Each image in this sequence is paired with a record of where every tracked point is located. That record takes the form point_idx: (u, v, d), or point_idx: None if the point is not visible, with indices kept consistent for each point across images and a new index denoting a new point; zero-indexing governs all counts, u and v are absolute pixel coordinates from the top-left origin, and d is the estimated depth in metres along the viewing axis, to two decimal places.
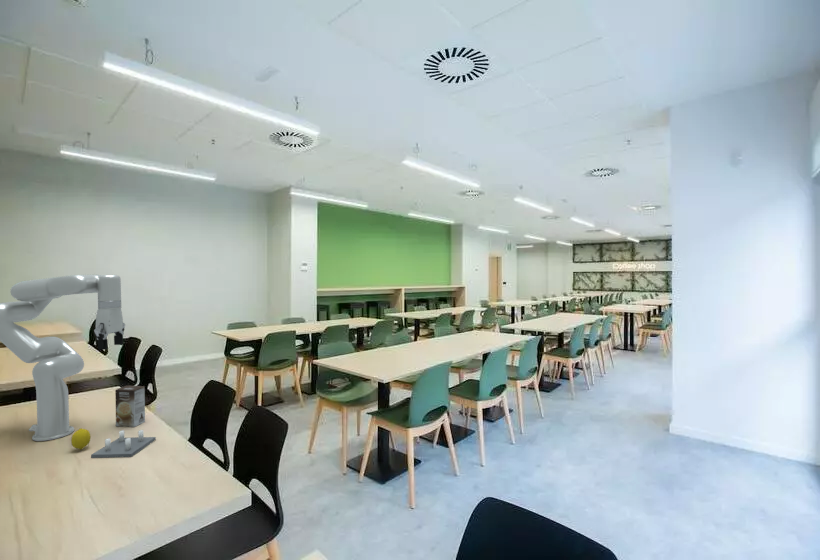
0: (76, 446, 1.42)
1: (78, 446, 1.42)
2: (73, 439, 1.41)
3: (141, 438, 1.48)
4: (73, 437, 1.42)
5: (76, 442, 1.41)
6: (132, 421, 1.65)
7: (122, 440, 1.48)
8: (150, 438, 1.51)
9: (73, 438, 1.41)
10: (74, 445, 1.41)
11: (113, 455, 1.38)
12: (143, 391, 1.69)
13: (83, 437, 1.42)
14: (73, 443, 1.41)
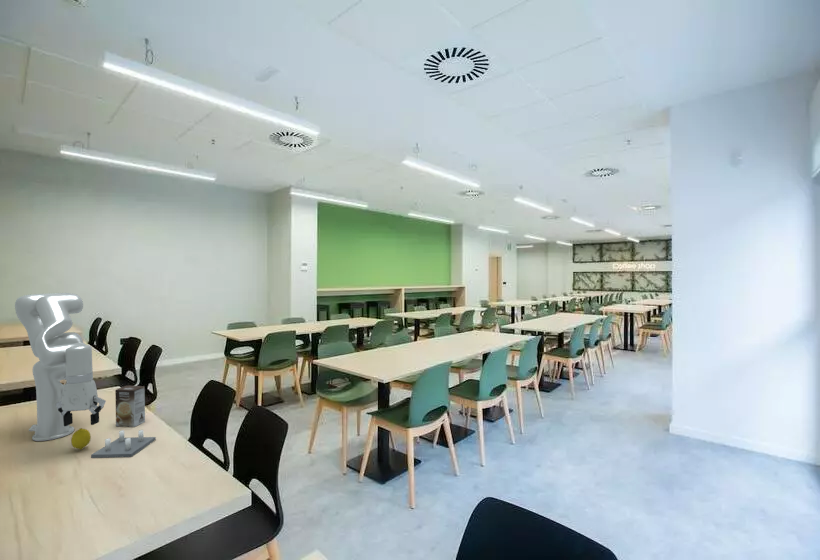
0: (76, 446, 1.42)
1: (78, 446, 1.42)
2: (73, 439, 1.41)
3: (141, 438, 1.48)
4: (73, 437, 1.42)
5: (76, 442, 1.41)
6: (132, 421, 1.65)
7: (122, 440, 1.48)
8: (150, 438, 1.51)
9: (73, 438, 1.41)
10: (74, 445, 1.41)
11: (113, 455, 1.38)
12: (143, 391, 1.69)
13: (83, 437, 1.42)
14: (73, 443, 1.41)
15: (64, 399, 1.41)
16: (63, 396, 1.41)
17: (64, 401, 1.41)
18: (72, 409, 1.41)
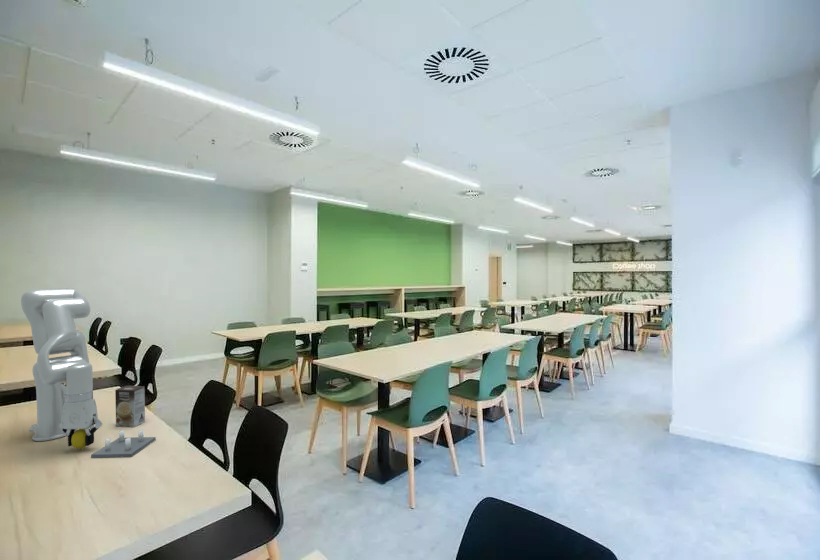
0: (76, 446, 1.42)
1: (78, 446, 1.42)
2: (73, 439, 1.41)
3: (141, 438, 1.48)
4: (73, 437, 1.42)
5: (76, 442, 1.41)
6: (132, 421, 1.65)
7: (122, 440, 1.48)
8: (150, 438, 1.51)
9: (73, 438, 1.41)
10: (74, 445, 1.41)
11: (113, 455, 1.38)
12: (143, 391, 1.69)
13: (83, 437, 1.42)
14: (73, 443, 1.41)
15: (64, 417, 1.41)
16: (63, 414, 1.41)
17: (64, 420, 1.41)
18: (72, 427, 1.41)
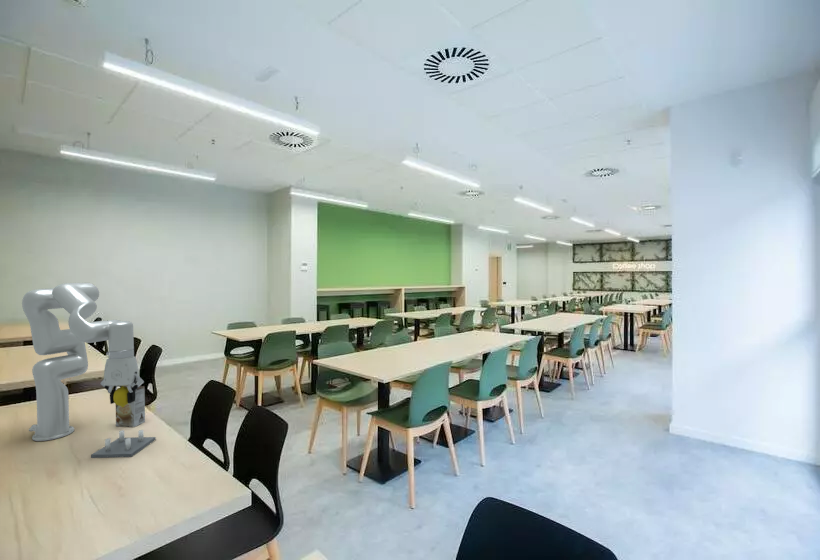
0: (118, 403, 1.42)
1: (120, 403, 1.42)
2: (115, 396, 1.42)
3: (141, 438, 1.48)
4: (115, 394, 1.42)
5: (118, 399, 1.41)
6: (132, 421, 1.65)
7: (122, 440, 1.48)
8: (150, 438, 1.51)
9: (115, 395, 1.42)
10: (116, 402, 1.42)
11: (113, 455, 1.38)
12: (143, 391, 1.69)
13: (124, 394, 1.43)
14: (115, 400, 1.41)
15: (106, 374, 1.41)
16: (105, 371, 1.41)
17: (106, 376, 1.41)
18: (114, 384, 1.41)
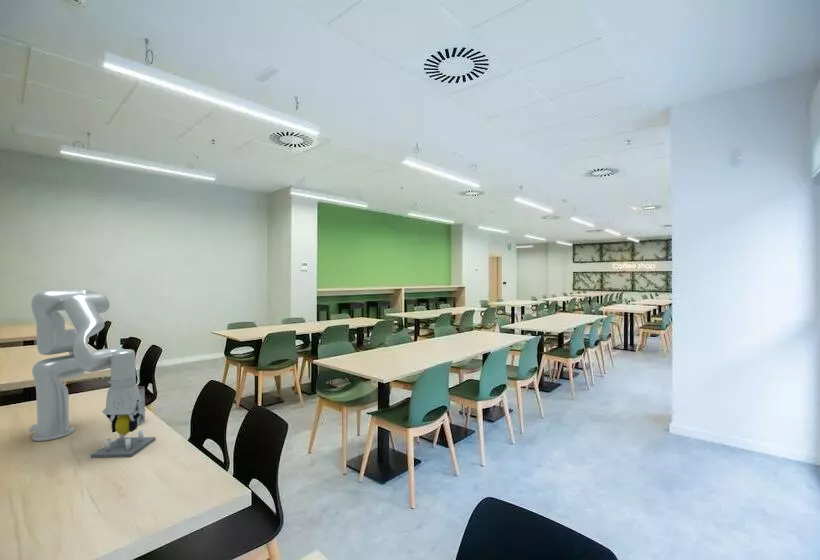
0: (120, 432, 1.42)
1: (122, 432, 1.42)
2: (117, 425, 1.42)
3: (141, 438, 1.48)
4: (117, 423, 1.42)
5: (120, 428, 1.42)
6: None
7: (122, 440, 1.48)
8: (150, 438, 1.51)
9: (117, 424, 1.42)
10: (118, 431, 1.42)
11: (113, 455, 1.38)
12: (143, 391, 1.69)
13: (126, 423, 1.43)
14: (117, 429, 1.42)
15: (108, 403, 1.41)
16: (107, 400, 1.41)
17: (108, 405, 1.41)
18: (116, 413, 1.42)
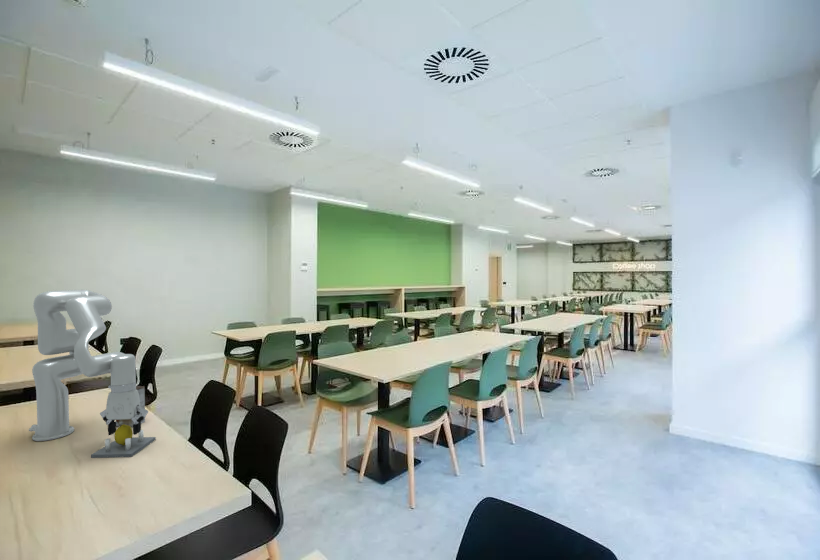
0: (119, 442, 1.42)
1: (121, 442, 1.42)
2: (116, 435, 1.42)
3: (141, 438, 1.48)
4: (116, 433, 1.42)
5: (119, 438, 1.42)
6: (132, 421, 1.65)
7: None
8: (150, 438, 1.51)
9: (116, 434, 1.42)
10: (117, 441, 1.42)
11: (113, 455, 1.38)
12: (143, 391, 1.69)
13: (126, 433, 1.43)
14: (116, 439, 1.42)
15: (108, 408, 1.41)
16: (108, 405, 1.42)
17: (108, 410, 1.41)
18: (116, 418, 1.42)
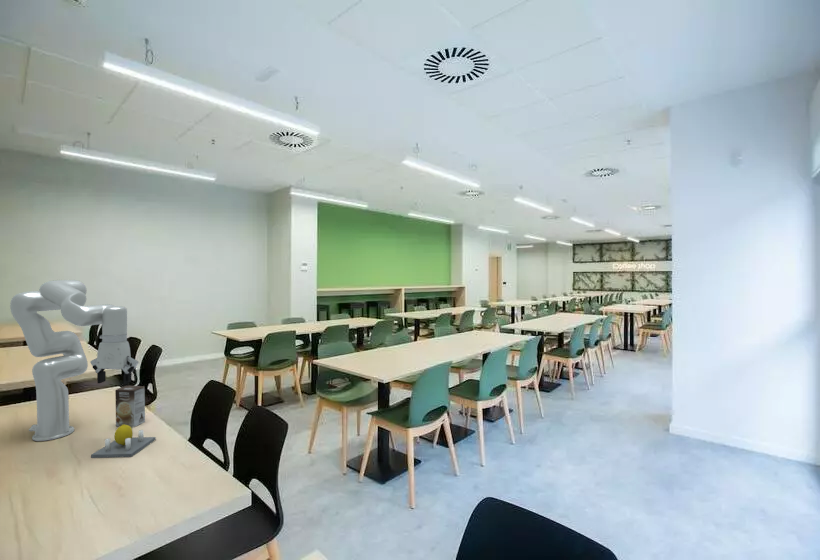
0: (119, 442, 1.42)
1: (121, 442, 1.42)
2: (116, 435, 1.42)
3: (141, 438, 1.48)
4: (116, 433, 1.42)
5: (119, 438, 1.42)
6: (132, 421, 1.65)
7: None
8: (150, 438, 1.51)
9: (116, 434, 1.42)
10: (117, 441, 1.42)
11: (113, 455, 1.38)
12: (143, 391, 1.69)
13: (126, 433, 1.43)
14: (116, 439, 1.42)
15: (99, 357, 1.45)
16: (98, 354, 1.45)
17: (99, 359, 1.45)
18: (106, 367, 1.45)
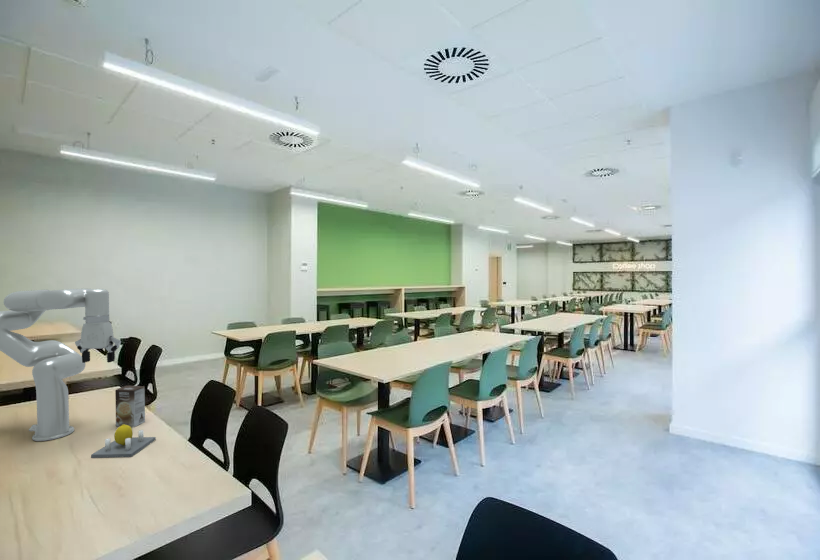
0: (119, 442, 1.42)
1: (121, 442, 1.42)
2: (116, 435, 1.42)
3: (141, 438, 1.48)
4: (116, 433, 1.42)
5: (119, 438, 1.42)
6: (132, 421, 1.65)
7: None
8: (150, 438, 1.51)
9: (116, 434, 1.42)
10: (117, 441, 1.42)
11: (113, 455, 1.38)
12: (143, 391, 1.69)
13: (126, 433, 1.43)
14: (116, 439, 1.42)
15: (83, 337, 1.52)
16: (82, 334, 1.52)
17: (83, 339, 1.52)
18: (90, 347, 1.52)
